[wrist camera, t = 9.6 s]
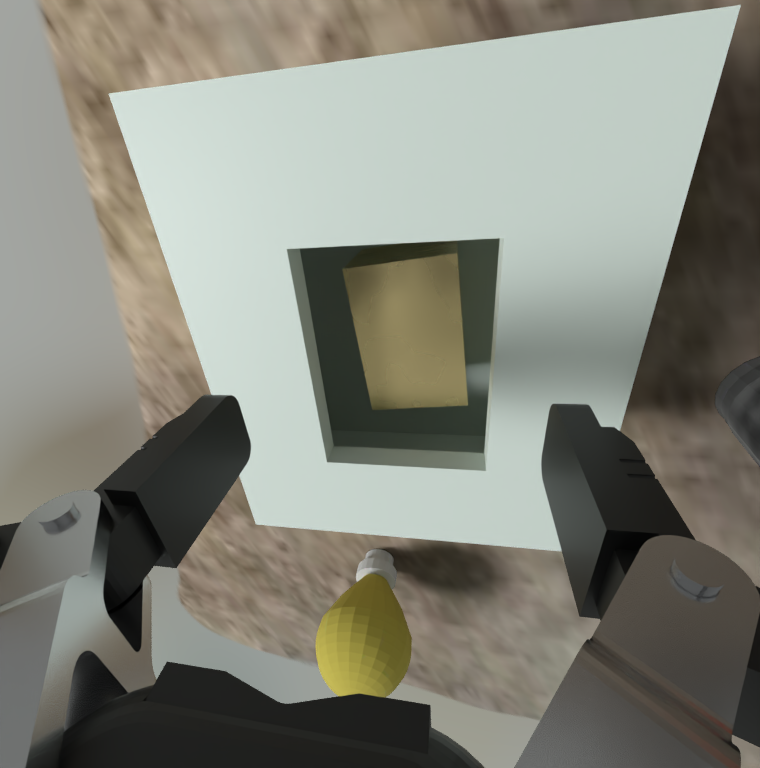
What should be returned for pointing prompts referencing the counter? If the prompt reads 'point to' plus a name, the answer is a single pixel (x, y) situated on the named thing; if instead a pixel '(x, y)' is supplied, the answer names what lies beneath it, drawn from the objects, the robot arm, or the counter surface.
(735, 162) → the counter surface
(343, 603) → the light bulb
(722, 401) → the beverage cup
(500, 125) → the box
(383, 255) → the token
